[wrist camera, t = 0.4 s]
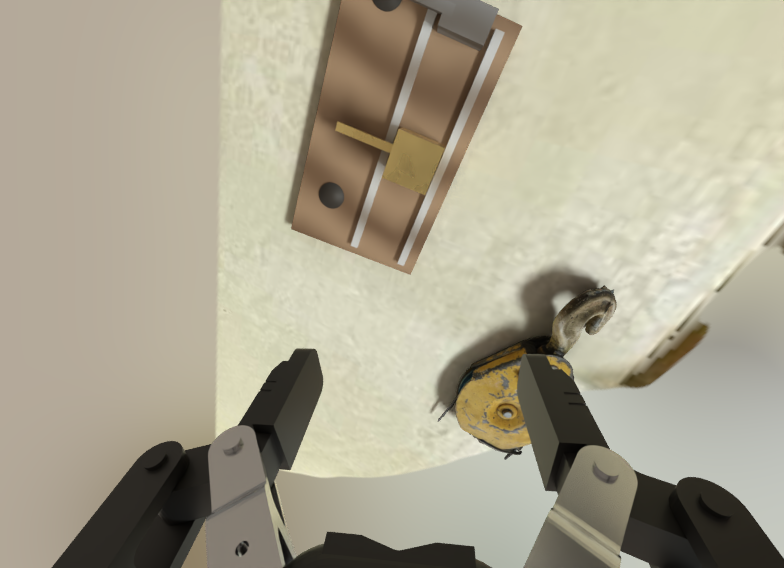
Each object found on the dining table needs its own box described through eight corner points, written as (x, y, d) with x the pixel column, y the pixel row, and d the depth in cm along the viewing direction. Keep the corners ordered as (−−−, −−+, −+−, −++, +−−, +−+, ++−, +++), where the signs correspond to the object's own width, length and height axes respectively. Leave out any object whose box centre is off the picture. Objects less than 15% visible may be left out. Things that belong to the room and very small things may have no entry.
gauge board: (355, -46, 26) (346, -68, 23) (518, 29, 27) (530, 18, 24) (294, 225, 38) (283, 235, 35) (410, 270, 39) (409, 283, 36)
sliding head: (347, 103, 30) (329, 100, 24) (441, 143, 31) (444, 148, 25) (335, 146, 32) (317, 151, 26) (425, 183, 32) (425, 195, 27)
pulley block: (686, 336, 32) (513, 481, 46) (657, 309, 37) (509, 447, 51) (562, 270, 32) (428, 434, 46) (551, 253, 38) (433, 405, 51)
